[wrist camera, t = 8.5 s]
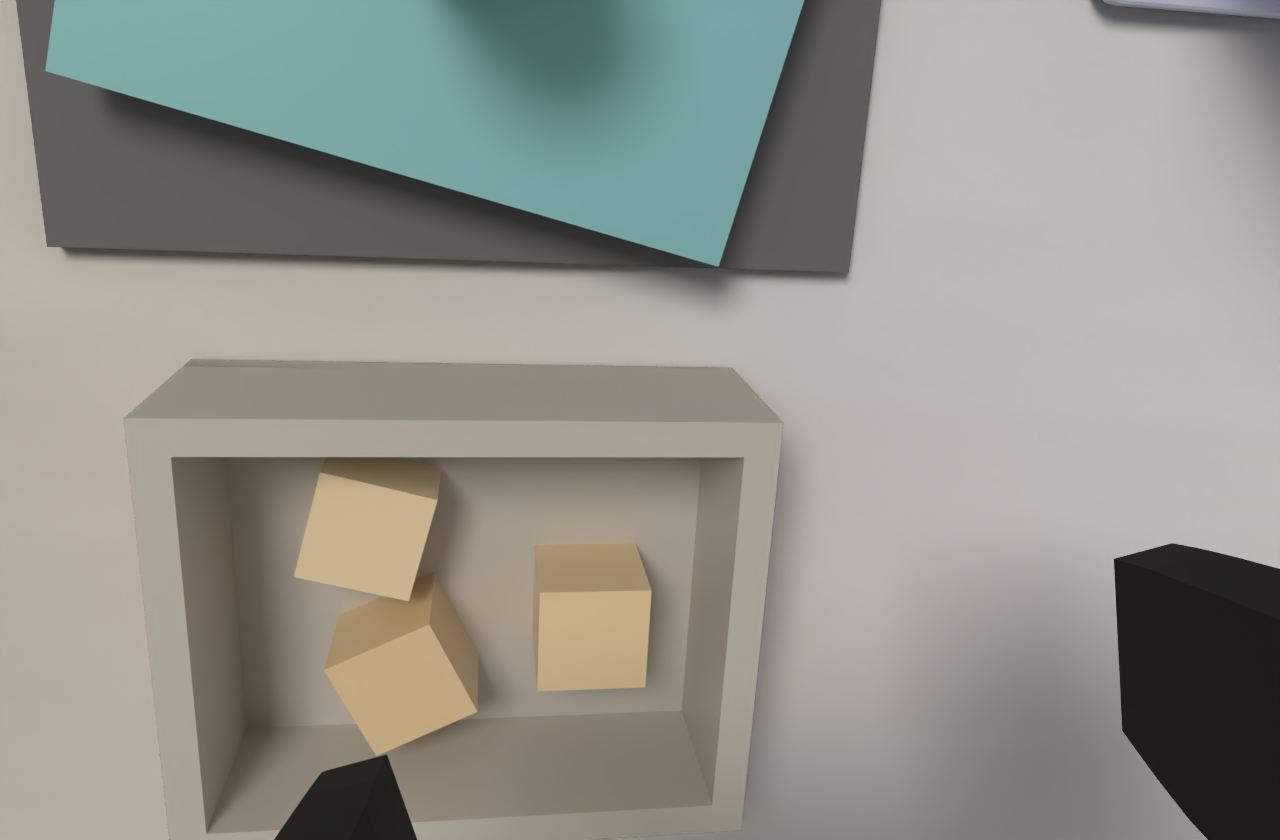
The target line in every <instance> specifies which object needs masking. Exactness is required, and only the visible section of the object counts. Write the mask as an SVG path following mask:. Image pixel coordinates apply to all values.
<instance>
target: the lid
mask: <svg viewBox="0 0 1280 840" xmlns="http://www.w3.org/2000/svg"><path fill="white" fill-rule="evenodd" d="M803 3H804V0H55V2H54V10H53V17H52V25H51V32H50V40H49V47H48V54H47V62H46V69H45V71H47V72H50V73H54V74H57V75H61V76H64V77H68V78H71V79H74V80H78V81H81V82H85V83H88V84H92V85H95V86H99V87H102V88H105V89H109V90H112V91H116V92H119V93H123V94H126V95H129V96H133V97H136V98H140V99H143V100H147V101H150V102H154V103H157V104H160V105H164V106H167V107H171V108H174V109H178V110H181V111H184V112H188V113H191V114H195V115H198V116H202V117H205V118H209V119H212V120H215V121H219V122H222V123H226V124H229V125H233V126H236V127H239V128H243V129H246V130H250V131H253V132H257V133H260V134H264V135H267V136H270V137H274V138H277V139H281V140H284V141H288V142H291V143H294V144H298V145H301V146H305V147H308V148H312V149H315V150H319V151H322V152H325V153H329V154H332V155H336V156H339V157H343V158H346V159H349V160H353V161H356V162H360V163H363V164H367V165H370V166H374V167H377V168H380V169H384V170H387V171H391V172H394V173H398V174H401V175H404V176H408V177H411V178H415V179H418V180H422V181H425V182H429V183H432V184H435V185H439V186H442V187H446V188H449V189H453V190H456V191H459V192H463V193H466V194H470V195H473V196H477V197H480V198H484V199H487V200H490V201H494V202H497V203H501V204H504V205H508V206H511V207H514V208H518V209H521V210H525V211H528V212H532V213H535V214H539V215H542V216H545V217H549V218H552V219H556V220H559V221H563V222H566V223H569V224H573V225H576V226H580V227H583V228H587V229H590V230H593V231H597V232H600V233H604V234H607V235H611V236H614V237H618V238H621V239H624V240H628V241H631V242H635V243H638V244H642V245H645V246H648V247H652V248H655V249H659V250H662V251H666V252H669V253H673V254H676V255H679V256H683V257H686V258H690V259H693V260H697V261H700V262H703V263H707V264H710V265H714V266H717V267H719V264H720V261H721V258H722V255H723V251H724V248H725V245H726V242H727V239H728V236H729V233H730V230H731V227H732V223H733V220H734V217H735V214H736V211H737V208H738V205H739V202H740V199H741V195H742V192H743V189H744V186H745V183H746V180H747V177H748V174H749V171H750V167H751V164H752V161H753V158H754V155H755V152H756V149H757V146H758V143H759V139H760V136H761V133H762V130H763V127H764V124H765V121H766V118H767V115H768V112H769V108H770V105H771V102H772V99H773V96H774V93H775V90H776V87H777V84H778V80H779V77H780V74H781V71H782V68H783V65H784V62H785V59H786V56H787V52H788V49H789V46H790V43H791V40H792V37H793V34H794V31H795V28H796V24H797V21H798V18H799V15H800V12H801V9H802V6H803Z"/></svg>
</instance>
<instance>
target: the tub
mask: <svg viewBox="0 0 1280 840" xmlns="http://www.w3.org/2000/svg"><path fill="white" fill-rule="evenodd" d="M124 427H125V436H126V445H127V455H128V464H129V473H130V482H131V492H132V501H133V510H134V519H135V529H136V538H137V547H138V557H139V566H140V575H141V584H142V594H143V603H144V612H145V621H146V631H147V640H148V649H149V658H150V668H151V677H152V686H153V695H154V705H155V714H156V723H157V733H158V742H159V751H160V760H161V770H162V779H163V788H164V797H165V807H166V816H167V825H168V834H169V840H274V839H275V837H276V836H277V835H278V833H279V832H280V830H281V829H282V827H283V826H284V824H285V823H286V821H287V820H288V819H289V817H290V816H291V814H292V813H293V811H294V810H295V808H296V807H297V805H298V804H299V803H300V801H301V800H302V798H303V797H304V795H305V794H306V793H307V791H308V790H309V788H310V787H311V786H312V784H313V783H314V782H315V780H316V779H317V778H318V776H319V775H320V774H321V772H323V771H326V770H330V769H334V768H338V767H341V766H345V765H349V764H353V763H356V762H360V761H364V760H367V759H371V758H375V757H379V756H382V755H386V754H387V756H388V758H389V761H390V764H391V767H392V770H393V772H394V775H395V778H396V781H397V784H398V787H399V789H400V792H401V795H402V798H403V801H404V803H405V806H406V809H407V812H408V815H409V818H410V820H411V823H412V826H413V829H414V832H415V834H416V837H417V840H595V839H612V838H628V837H644V836H661V835H677V834H694V833H710V832H726V831H741V828H742V818H743V808H744V799H745V789H746V779H747V770H748V760H749V750H750V740H751V731H752V721H753V711H754V702H755V692H756V682H757V673H758V663H759V653H760V644H761V634H762V624H763V615H764V605H765V595H766V585H767V576H768V566H769V556H770V547H771V537H772V527H773V518H774V508H775V498H776V489H777V479H778V469H779V460H780V450H781V440H782V430H783V422H782V421H781V420H780V419H779V418H778V416H777V415H776V414H775V413H774V412H773V411H772V410H771V409H770V408H769V407H768V406H767V405H766V404H765V403H764V401H763V400H762V399H761V398H760V397H759V396H758V395H757V394H756V393H755V392H754V391H753V390H752V389H751V388H750V386H749V385H748V384H747V383H746V382H745V381H744V380H743V379H742V378H741V377H740V376H739V375H738V374H737V372H736V371H735V370H734V369H733V368H708V367H644V366H581V365H517V364H453V363H389V362H326V361H262V360H198V359H191V360H190V361H189V362H187V363H186V364H185V365H184V366H183V367H182V368H181V369H179V370H178V371H177V372H176V373H175V374H174V375H173V376H171V377H170V378H169V379H168V380H167V381H166V382H165V383H163V384H162V385H161V386H160V387H159V388H158V389H157V390H155V391H154V392H153V393H152V394H151V395H150V396H149V397H147V398H146V399H145V400H144V401H143V402H142V403H141V404H139V405H138V406H137V407H136V408H135V409H134V410H133V411H131V412H130V413H129V414H128V415H127V416H126V417H124Z"/></svg>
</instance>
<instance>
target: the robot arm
mask: <svg viewBox="0 0 1280 840" xmlns="http://www.w3.org/2000/svg"><path fill="white" fill-rule="evenodd" d="M1102 1H1103V2H1104V3H1108V4H1111V5H1114V6H1126V7H1139V8H1151V9H1164V10H1176V11H1188V12H1201V13H1213V14H1225V15H1238V16H1250V17H1262V18H1275V19H1280V0H1102ZM1114 569H1115V589H1116V610H1117V630H1118V650H1119V671H1120V691H1121V711H1122V731H1123V732H1124V734H1125V735H1126V736H1127V738H1128V739H1129V741H1130V742H1131V743H1132V745H1133V746H1134V747H1135V749H1136V750H1137V752H1138V753H1139V754H1140V756H1141V757H1142V758H1143V760H1144V761H1145V762H1146V764H1147V765H1148V767H1149V768H1150V769H1151V771H1152V772H1153V773H1154V775H1155V776H1156V778H1157V779H1158V780H1159V781H1160V783H1161V784H1162V785H1163V787H1164V788H1165V789H1166V790H1167V792H1168V793H1169V794H1170V796H1171V797H1172V798H1173V799H1174V801H1175V802H1176V803H1177V804H1178V806H1179V807H1180V808H1181V810H1182V811H1183V812H1184V813H1185V815H1186V816H1187V817H1188V818H1189V820H1190V821H1191V822H1192V823H1193V824H1194V825H1195V826H1196V827H1197V828H1198V829H1199V830H1200V831H1201V833H1202V834H1203V835H1204V836H1205V837H1206V838H1207V839H1208V840H1280V569H1278V568H1274V567H1270V566H1267V565H1263V564H1259V563H1255V562H1252V561H1248V560H1244V559H1240V558H1236V557H1232V556H1228V555H1224V554H1220V553H1216V552H1212V551H1208V550H1203V549H1199V548H1194V547H1189V546H1183V545H1178V544H1168V545H1164V546H1161V547H1157V548H1153V549H1149V550H1146V551H1142V552H1138V553H1135V554H1131V555H1127V556H1123V557H1120V558H1116V559H1114ZM274 840H417V837H416V834H415V832H414V829H413V826H412V823H411V820H410V818H409V815H408V812H407V809H406V806H405V803H404V801H403V798H402V795H401V792H400V789H399V787H398V784H397V781H396V778H395V775H394V772H393V770H392V767H391V764H390V761H389V758H388V756H387V754H386V755H382V756H379V757H375V758H371V759H367V760H364V761H360V762H356V763H353V764H349V765H345V766H341V767H338V768H334V769H330V770H326V771H323V772H321V774H320V775H319V776H318V778H317V779H316V780H315V782H314V783H313V784H312V786H311V787H310V788H309V790H308V791H307V793H306V794H305V795H304V797H303V798H302V800H301V801H300V803H299V804H298V805H297V807H296V808H295V810H294V811H293V813H292V814H291V816H290V817H289V819H288V820H287V821H286V823H285V824H284V826H283V827H282V829H281V830H280V832H279V833H278V835H277V836H276V837H275V839H274Z"/></svg>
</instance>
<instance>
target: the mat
mask: <svg viewBox="0 0 1280 840" xmlns="http://www.w3.org/2000/svg"><path fill="white" fill-rule="evenodd" d="M54 2H55V0H16V3H17V10H18V18H19V26H20V34H21V42H22V50H23V58H24V66H25V74H26V82H27V90H28V98H29V106H30V114H31V122H32V130H33V138H34V146H35V154H36V162H37V170H38V178H39V186H40V194H41V202H42V210H43V218H44V226H45V234H46V242H47V247H72V248H103V249H134V250H166V251H197V252H228V253H259V254H290V255H321V256H352V257H383V258H415V259H446V260H477V261H508V262H539V263H570V264H601V265H633V266H664V267H695V268H726V269H757V270H788V271H819V272H849V266H850V258H851V250H852V241H853V233H854V224H855V216H856V207H857V199H858V191H859V182H860V174H861V165H862V157H863V148H864V140H865V131H866V123H867V115H868V106H869V98H870V89H871V81H872V72H873V64H874V56H875V47H876V39H877V30H878V22H879V13H880V5H881V0H804V3H803V6H802V9H801V12H800V15H799V18H798V21H797V24H796V28H795V31H794V34H793V37H792V40H791V43H790V46H789V49H788V52H787V56H786V59H785V62H784V65H783V68H782V71H781V74H780V77H779V80H778V84H777V87H776V90H775V93H774V96H773V99H772V102H771V105H770V108H769V112H768V115H767V118H766V121H765V124H764V127H763V130H762V133H761V136H760V139H759V143H758V146H757V149H756V152H755V155H754V158H753V161H752V164H751V167H750V171H749V174H748V177H747V180H746V183H745V186H744V189H743V192H742V195H741V199H740V202H739V205H738V208H737V211H736V214H735V217H734V220H733V223H732V227H731V230H730V233H729V236H728V239H727V242H726V245H725V248H724V251H723V255H722V258H721V261H720V264H719V267H717V266H714V265H710V264H707V263H703V262H700V261H697V260H693V259H690V258H686V257H683V256H679V255H676V254H673V253H669V252H666V251H662V250H659V249H655V248H652V247H648V246H645V245H642V244H638V243H635V242H631V241H628V240H624V239H621V238H618V237H614V236H611V235H607V234H604V233H600V232H597V231H593V230H590V229H587V228H583V227H580V226H576V225H573V224H569V223H566V222H563V221H559V220H556V219H552V218H549V217H545V216H542V215H539V214H535V213H532V212H528V211H525V210H521V209H518V208H514V207H511V206H508V205H504V204H501V203H497V202H494V201H490V200H487V199H484V198H480V197H477V196H473V195H470V194H466V193H463V192H459V191H456V190H453V189H449V188H446V187H442V186H439V185H435V184H432V183H429V182H425V181H422V180H418V179H415V178H411V177H408V176H404V175H401V174H398V173H394V172H391V171H387V170H384V169H380V168H377V167H374V166H370V165H367V164H363V163H360V162H356V161H353V160H349V159H346V158H343V157H339V156H336V155H332V154H329V153H325V152H322V151H319V150H315V149H312V148H308V147H305V146H301V145H298V144H294V143H291V142H288V141H284V140H281V139H277V138H274V137H270V136H267V135H264V134H260V133H257V132H253V131H250V130H246V129H243V128H239V127H236V126H233V125H229V124H226V123H222V122H219V121H215V120H212V119H209V118H205V117H202V116H198V115H195V114H191V113H188V112H184V111H181V110H178V109H174V108H171V107H167V106H164V105H160V104H157V103H154V102H150V101H147V100H143V99H140V98H136V97H133V96H129V95H126V94H123V93H119V92H116V91H112V90H109V89H105V88H102V87H99V86H95V85H92V84H88V83H85V82H81V81H78V80H74V79H71V78H68V77H64V76H61V75H57V74H54V73H50V72H47V71H45V69H46V62H47V54H48V47H49V40H50V32H51V25H52V17H53V10H54Z"/></svg>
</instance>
